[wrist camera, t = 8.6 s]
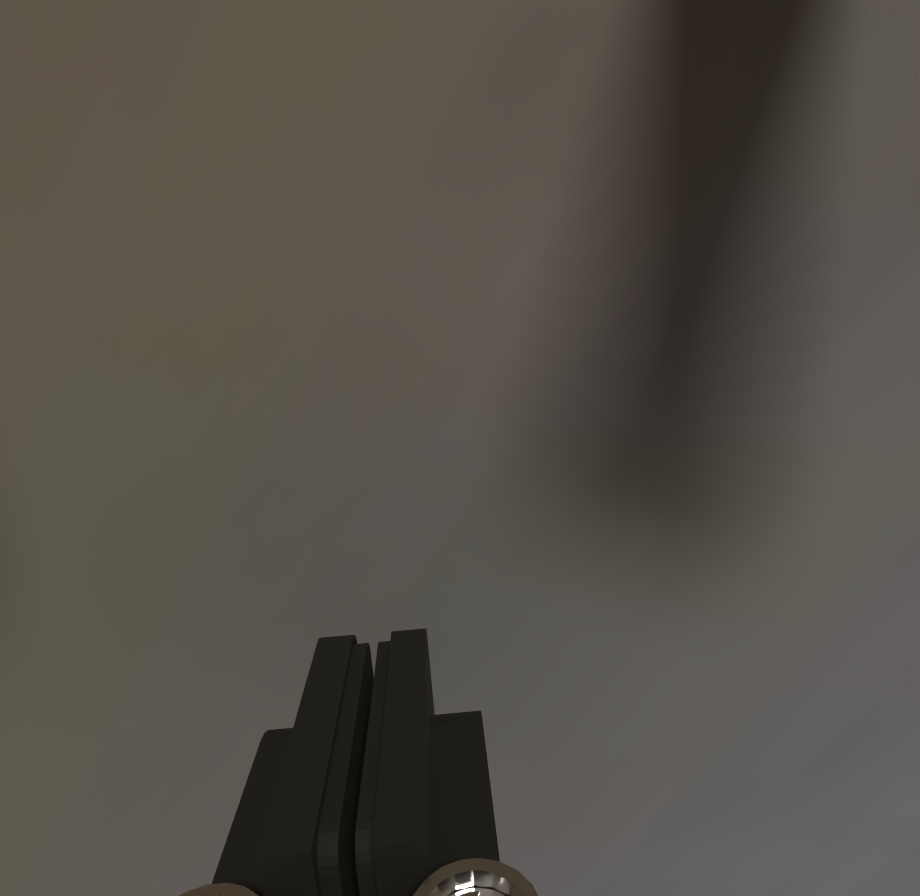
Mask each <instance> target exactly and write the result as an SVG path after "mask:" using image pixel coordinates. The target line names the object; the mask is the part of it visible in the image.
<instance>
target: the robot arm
mask: <svg viewBox="0 0 920 896" xmlns="http://www.w3.org/2000/svg"><path fill="white" fill-rule="evenodd" d="M180 896H538V895H537V893H536V891H535V889H534V887H533V885H532V884H531V883H530V882H529V881H528V880H527V879H526V878H525V877H524V876H523V875H522V874H521V873H520V872H519V871H518V870H516V869H514V868H512V867H510V866H508V865H506V864H504V863H502V862H500V860H499V851H498V843H497V835H496V827H495V819H494V811H493V803H492V795H491V787H490V779H489V771H488V762H487V754H486V746H485V738H484V730H483V722H482V715H481V711H473V712H462V713H451V714H440V715H434V705H433V694H432V683H431V673H430V662H429V651H428V640H427V632H426V629H416V630H404V631H393V632H392V633H391V641H386V642H379V643H378V650H377V658H376V666H375V674H374V677H373V669H372V660H371V652H370V646H369V644H368V643H363V644H357V640H356V637H355V635H347V636H335V637H324V638H319V640H318V642H317V646H316V649H315V653H314V656H313V660H312V663H311V667H310V670H309V674H308V678H307V681H306V685H305V688H304V692H303V695H302V699H301V702H300V706H299V709H298V713H297V716H296V720H295V723H294V727H293V728H287V729H276V730H268V731H266V732H265V733H264V735H263V737H262V739H261V742H260V744H259V747H258V750H257V753H256V756H255V759H254V762H253V765H252V768H251V771H250V774H249V777H248V779H247V782H246V785H245V788H244V791H243V794H242V797H241V800H240V803H239V806H238V809H237V811H236V814H235V817H234V820H233V823H232V826H231V829H230V832H229V835H228V838H227V841H226V844H225V846H224V849H223V852H222V855H221V858H220V861H219V864H218V867H217V870H216V873H215V876H214V878H213V881H212V884H209V885H204V886H202V887H199V888H196V889H193V890H190V891H188V892H185V893H183V894H182V895H180Z"/></svg>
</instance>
